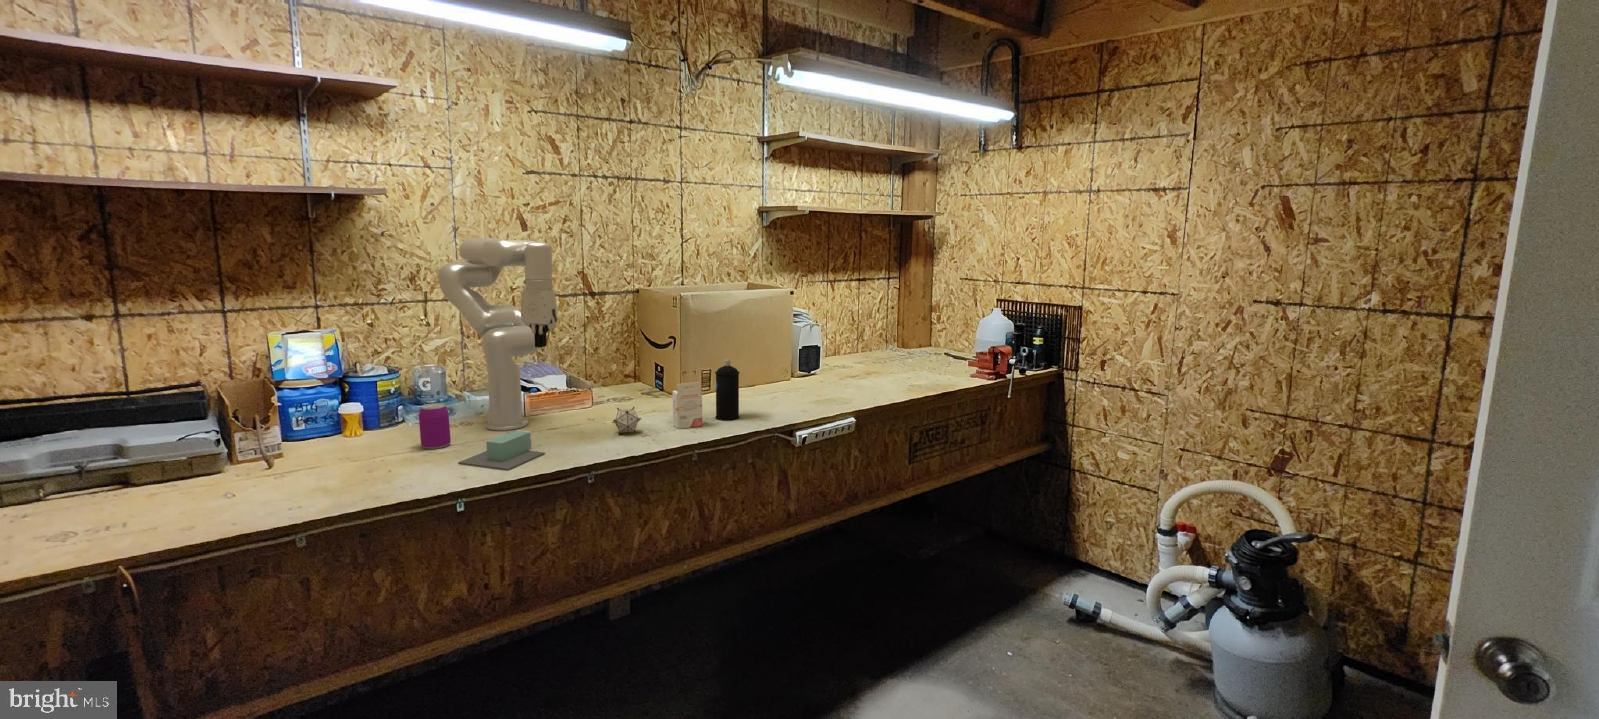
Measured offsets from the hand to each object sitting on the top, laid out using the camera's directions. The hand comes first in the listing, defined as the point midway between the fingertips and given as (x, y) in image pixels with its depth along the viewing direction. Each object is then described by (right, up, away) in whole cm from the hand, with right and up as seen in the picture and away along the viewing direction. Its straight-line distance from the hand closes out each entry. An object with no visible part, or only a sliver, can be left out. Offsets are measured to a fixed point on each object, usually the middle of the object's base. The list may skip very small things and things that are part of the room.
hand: (540, 346), depth 212 cm
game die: (+23, -27, +10) cm, 37 cm away
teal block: (-2, -27, -9) cm, 28 cm away
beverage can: (-28, -29, -6) cm, 41 cm away
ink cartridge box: (+41, -26, +20) cm, 52 cm away
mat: (-4, -31, -17) cm, 36 cm away
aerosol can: (+53, -24, +30) cm, 65 cm away
